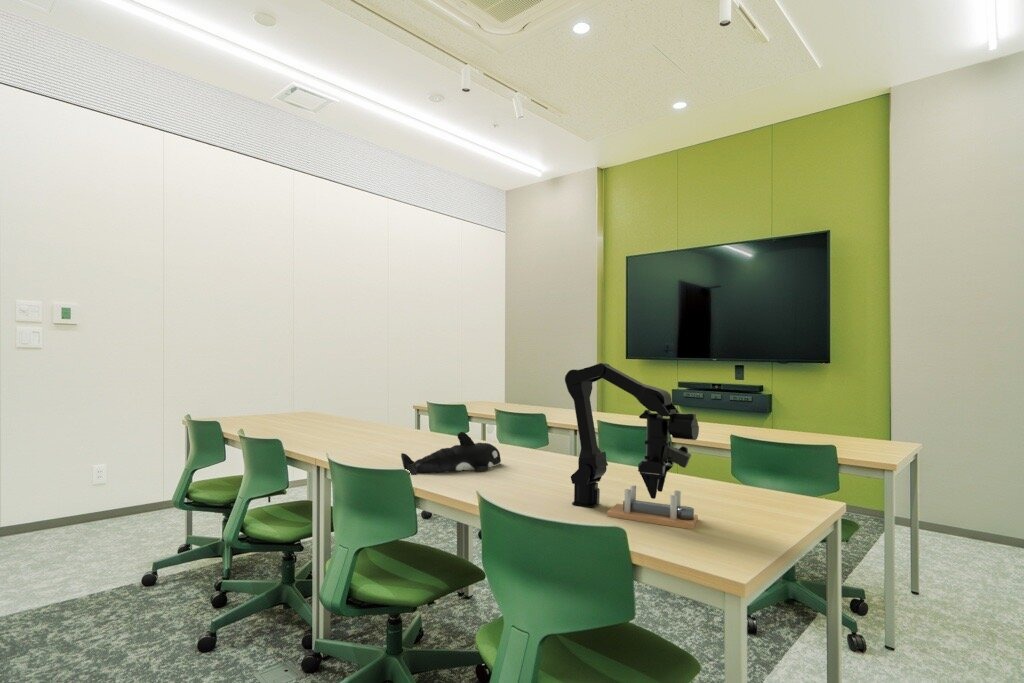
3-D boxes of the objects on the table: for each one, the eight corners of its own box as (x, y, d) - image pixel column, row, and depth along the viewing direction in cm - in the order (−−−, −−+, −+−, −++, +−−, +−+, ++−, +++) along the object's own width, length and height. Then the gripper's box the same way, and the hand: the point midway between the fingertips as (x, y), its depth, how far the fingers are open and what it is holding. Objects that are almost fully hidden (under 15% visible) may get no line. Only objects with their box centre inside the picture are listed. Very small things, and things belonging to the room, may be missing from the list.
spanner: (622, 511, 143) (622, 501, 143) (626, 507, 147) (626, 498, 147) (692, 521, 135) (692, 511, 135) (694, 517, 139) (695, 507, 139)
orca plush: (513, 471, 201) (513, 433, 202) (405, 477, 186) (407, 435, 187) (494, 461, 221) (495, 426, 222) (396, 465, 206) (397, 428, 207)
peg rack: (607, 516, 142) (607, 489, 143) (617, 507, 151) (617, 482, 152) (692, 529, 132) (692, 500, 133) (697, 519, 141) (697, 492, 142)
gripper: (683, 443, 130) (682, 507, 130) (693, 435, 147) (693, 491, 146) (638, 439, 135) (637, 500, 135) (652, 432, 152) (652, 486, 151)
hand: (656, 494), depth 142 cm, fingers open, 9 cm apart
